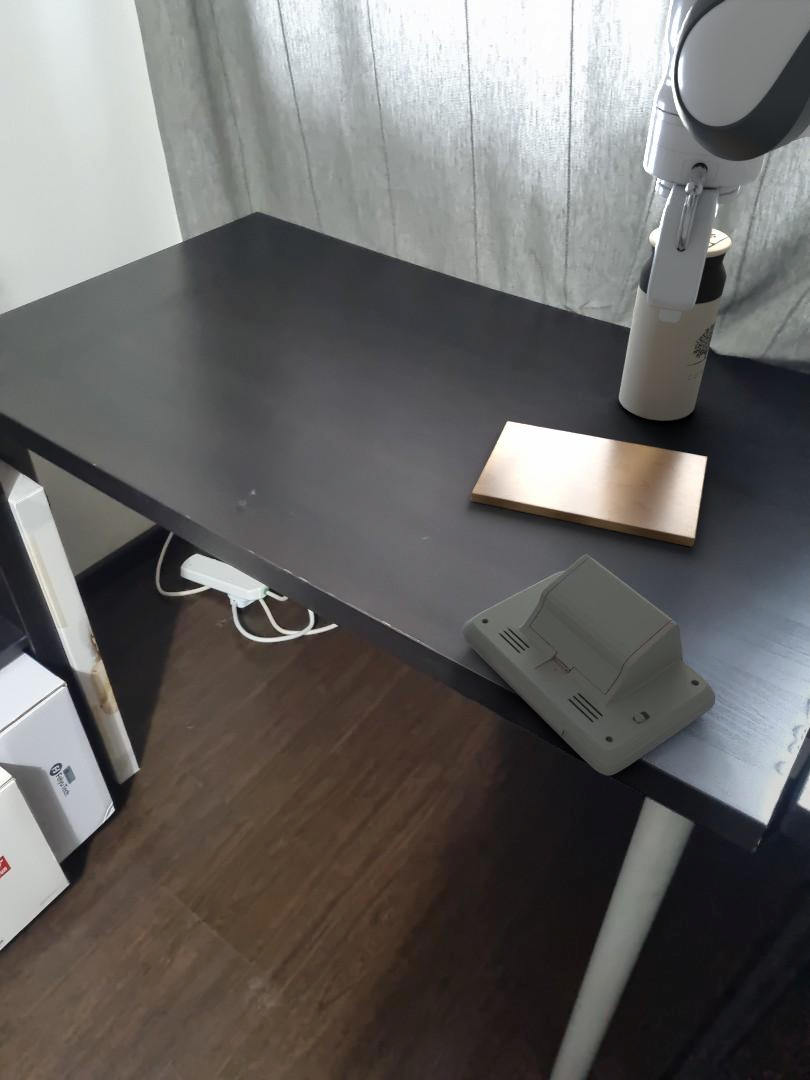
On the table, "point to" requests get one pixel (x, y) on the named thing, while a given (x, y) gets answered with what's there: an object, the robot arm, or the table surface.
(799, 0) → the robot arm
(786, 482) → the table surface
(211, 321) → the table surface
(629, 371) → the travel mug
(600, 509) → the wooden board
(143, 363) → the table surface
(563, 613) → the digital clock
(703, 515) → the table surface
